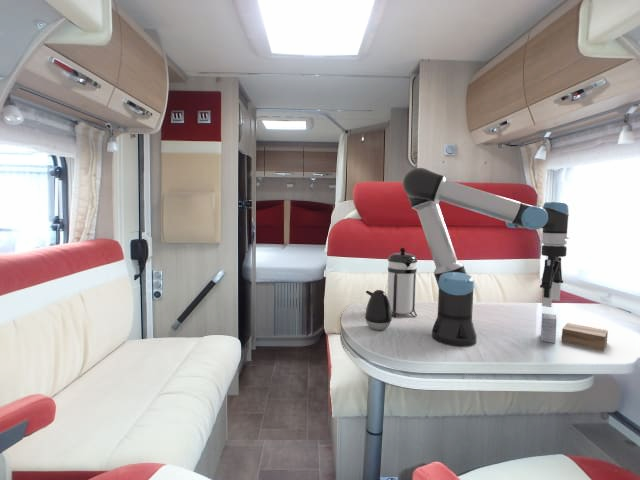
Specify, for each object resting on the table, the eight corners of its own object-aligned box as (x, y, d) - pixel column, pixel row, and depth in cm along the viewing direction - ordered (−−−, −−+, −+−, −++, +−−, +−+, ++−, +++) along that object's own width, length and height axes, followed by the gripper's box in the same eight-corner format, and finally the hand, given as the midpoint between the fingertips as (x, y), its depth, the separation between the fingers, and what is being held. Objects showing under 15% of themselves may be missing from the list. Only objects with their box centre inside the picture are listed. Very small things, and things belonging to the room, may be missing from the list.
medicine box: (555, 343, 126) (557, 319, 125) (540, 341, 128) (542, 317, 127) (554, 337, 132) (556, 314, 132) (540, 335, 135) (542, 312, 134)
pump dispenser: (369, 322, 146) (370, 286, 145) (394, 326, 141) (395, 288, 140) (360, 329, 137) (361, 290, 136) (387, 334, 132) (388, 293, 131)
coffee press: (424, 313, 161) (427, 247, 159) (407, 320, 150) (409, 250, 147) (391, 306, 173) (393, 245, 171) (372, 312, 161) (374, 246, 159)
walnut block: (603, 351, 120) (604, 337, 119) (561, 342, 128) (562, 328, 128) (606, 344, 127) (607, 330, 127) (566, 335, 135) (567, 322, 135)
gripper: (558, 247, 116) (555, 311, 118) (573, 243, 134) (570, 299, 135) (532, 246, 121) (530, 307, 123) (549, 242, 139) (547, 296, 141)
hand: (551, 303), depth 129 cm, fingers open, 13 cm apart
